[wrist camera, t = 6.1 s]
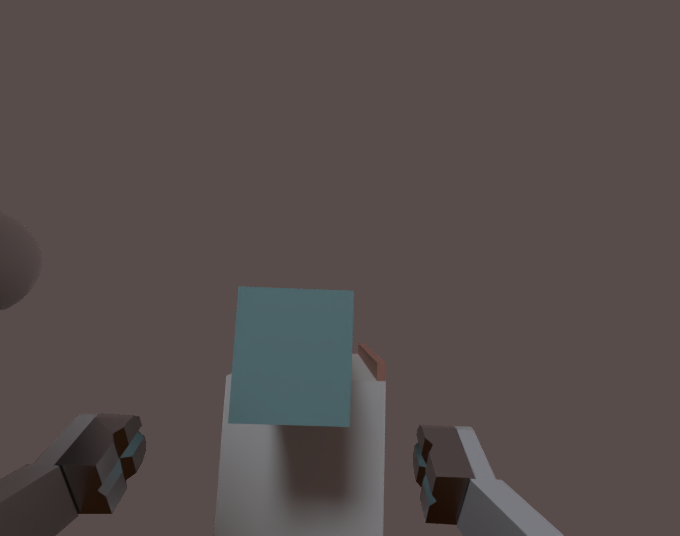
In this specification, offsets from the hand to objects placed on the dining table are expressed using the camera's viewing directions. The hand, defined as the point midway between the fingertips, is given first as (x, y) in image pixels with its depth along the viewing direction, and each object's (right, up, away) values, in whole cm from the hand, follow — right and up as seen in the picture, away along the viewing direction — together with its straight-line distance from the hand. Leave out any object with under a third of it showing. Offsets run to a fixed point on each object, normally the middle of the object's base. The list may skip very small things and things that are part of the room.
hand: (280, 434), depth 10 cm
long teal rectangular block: (0, -2, +11) cm, 11 cm away
